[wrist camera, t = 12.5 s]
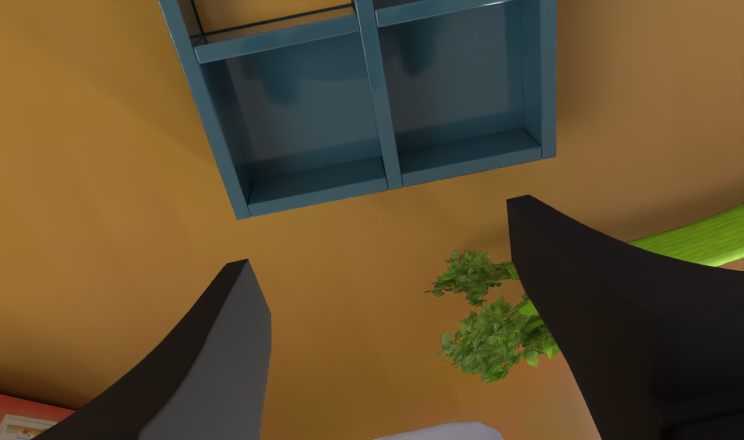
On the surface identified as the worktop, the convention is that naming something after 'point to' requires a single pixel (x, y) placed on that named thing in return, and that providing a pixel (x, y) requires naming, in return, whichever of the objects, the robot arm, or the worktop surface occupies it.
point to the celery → (492, 334)
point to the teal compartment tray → (365, 92)
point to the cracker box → (27, 418)
